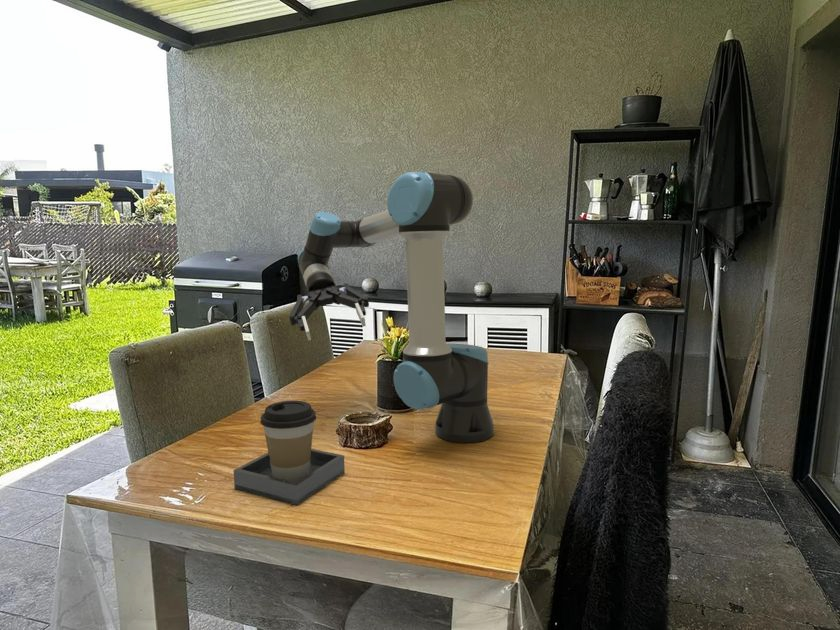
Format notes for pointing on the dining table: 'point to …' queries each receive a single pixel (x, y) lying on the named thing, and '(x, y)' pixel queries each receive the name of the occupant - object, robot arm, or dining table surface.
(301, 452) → the coffee cup
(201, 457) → the dining table surface
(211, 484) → the dining table surface
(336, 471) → the square tray
